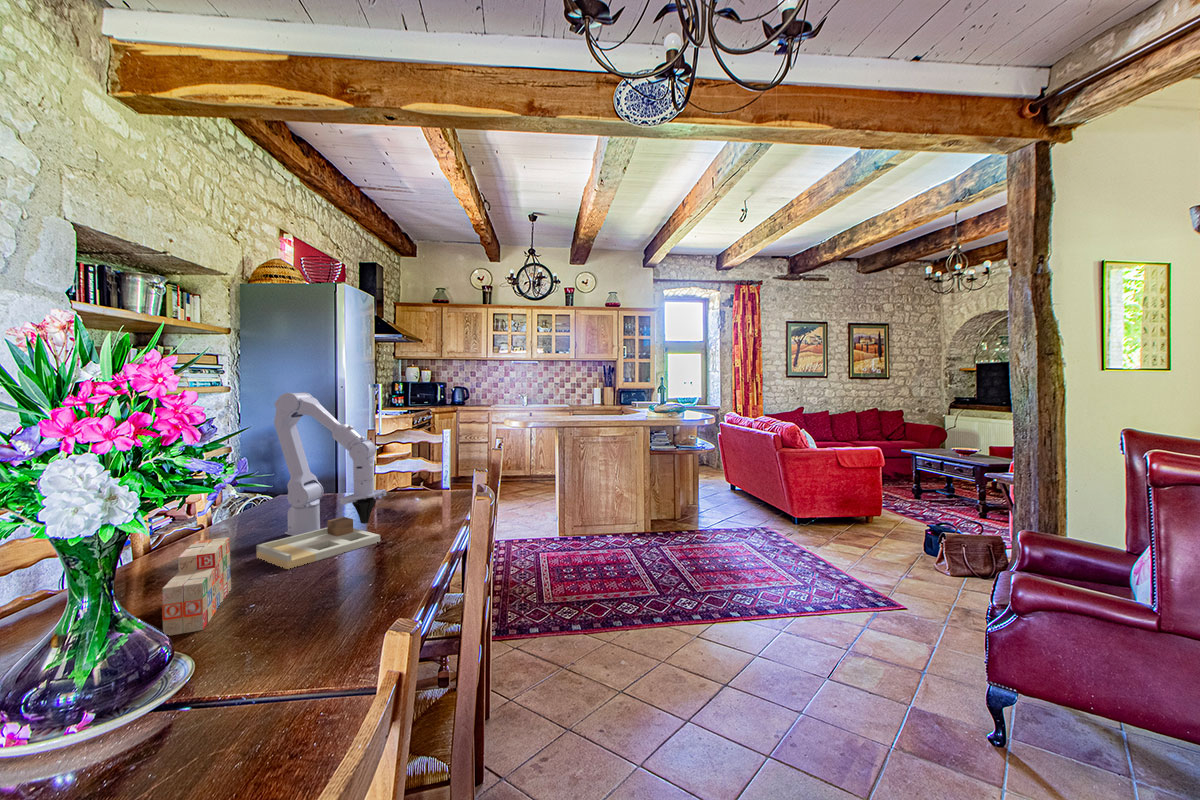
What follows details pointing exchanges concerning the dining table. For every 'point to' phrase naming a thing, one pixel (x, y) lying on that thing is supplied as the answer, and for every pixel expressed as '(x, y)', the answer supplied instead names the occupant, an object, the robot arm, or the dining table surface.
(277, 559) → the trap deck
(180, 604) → the stack of blocks
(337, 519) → the walnut block
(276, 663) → the dining table surface
